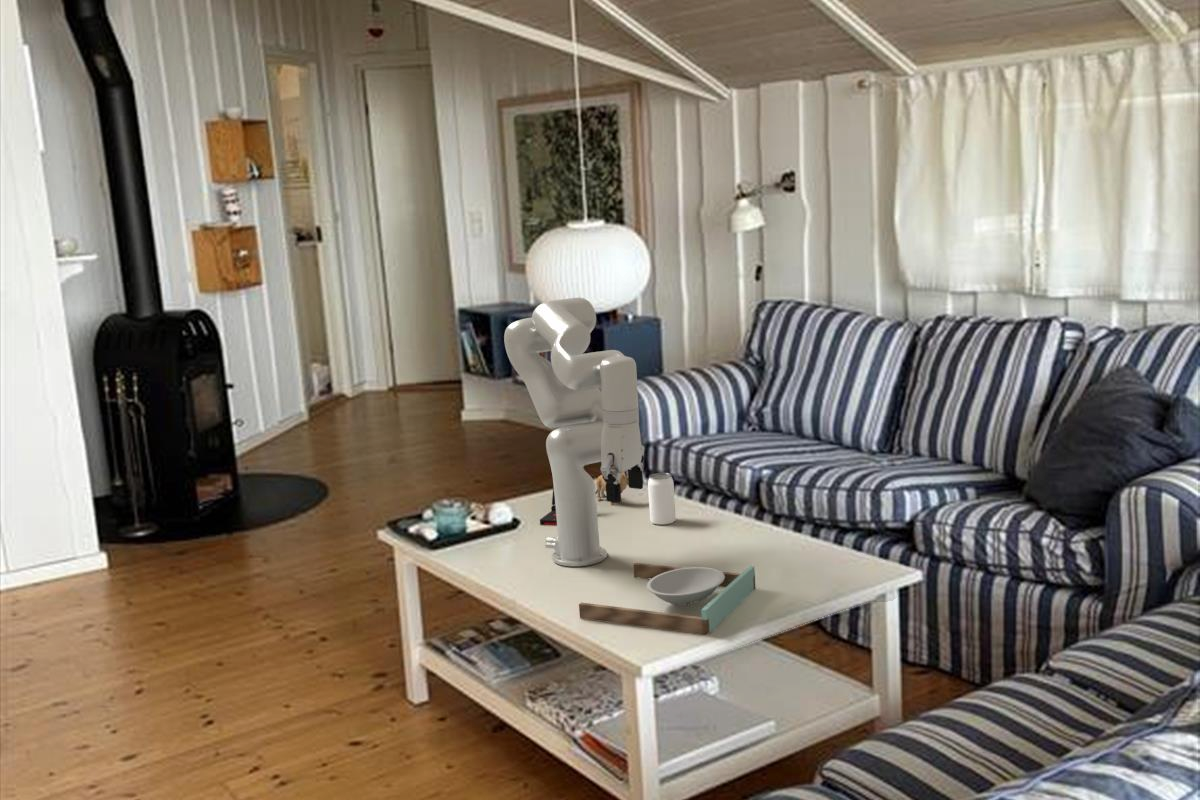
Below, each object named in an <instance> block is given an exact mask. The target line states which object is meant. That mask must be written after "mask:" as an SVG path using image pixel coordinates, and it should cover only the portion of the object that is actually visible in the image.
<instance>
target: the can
mask: <svg viewBox="0 0 1200 800" xmlns="http://www.w3.org/2000/svg"><path fill="white" fill-rule="evenodd" d="M648 477H649V478H648V481H647V489H648V490H647V492H648V507H649V520H650V522H651V524H652V523H653V525H655V524H656V525H655V526H667V524H668V525H671V524H670V523H672V524H674V523H675V522H676V520H677V519H676V518H677V517H676V514H677V513H676V501H675V500H676V499H675V498H676V497H675V487H674V486H675V485H674V480H673V477H672V474H671V473H668V472H657V473H651V474H650V475H649V476H648ZM674 521H675V522H674ZM673 522H674V523H673Z"/></svg>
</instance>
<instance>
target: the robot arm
mask: <svg viewBox="0 0 1200 800" xmlns="http://www.w3.org/2000/svg"><path fill="white" fill-rule="evenodd" d="M596 314H597V313H596V310H595V308H594V306H593V304H592V303H591V302H590V301H589V300H588V299H586V298H584V297H579V296H578V297H570V298H562V299H555V300H554V299H553V300H548V301H544V302H542V303H541V304H540V303H539V305H537V306H536V307H535V308H534V310H533V312H532V315H531V317H527V318H521V319H519V320H515V321H513V322H511V323H510V324H509V325H508V326H507V327H506V328H505V330H504V335H503V338H504V339H503V340H504V347H505V351H506V354H507V358H508V359H509V362H510V364H511V366H513V369H514V370H515V372H516V373H517V374H518V376H519V377H520V379H522V381H523V382H524V384H525V386H526V389H527V391H528V393H529V397H530V398H531V401H532V403H533V406H534V407H535V410H536V413H537V415H538V417H539V419H540V421H541V423H542V424H543V425H544V426H545V427H546V428H549V429H554V430H552V431H551V432H550V433H549V434H548V436H547V437H546V440H545V448H546V454H547V457H548V460H549V464H550V469H551V473H552V482H553V484H554V495H555V506H556V518H557V526H556V528H557V529H556V530H557V538H555V537H547V538H546V539H545V546H544V547H545V548H546V549H553V550H554V553H553V554H552V560H553V562H554V563H556V564H557V565H560V566H565V567H587V566H590V565H595V564H598V563H600V562H603V561H604V560H606V558H607V557H608V552H607V549H606V548H604V547H603V546H600V531H599V519H598V507H597V496H596V495H597V494H596V484H595V482H594V479H593V477H592V476H591V475H590V474H589V473H588V472H587V471H586V470H585V468H584V467H585V466H589V465H590V464H592V465H593V464H596V463H601V466H600V469H599V470H600V472H601V475H603V476H602V477H603V479H604V483H605V484H606V491H605V497H606V501H607V502H609V503H610V502H615V503H617V502H618V504H620V503H619V502H621V501H622V493H621V487H620V484H619V483H618V482H619V479H620V475H621V473H623V472H624V473H625V472H627V477H628V482H629V486H628V488H629V489H635V490H642V489H643V488H644V481H643V480H644V478H643V469H644V465H643V462H644V460H645V457H644V454H645V446H644V445H643V444H642V437H641V432H640V431H641V430H640V416H639V415H640V414H639V413H640V412H639V411H640V410H639V395H638V393H639V392H638V374H637V363H636V361H635V359H634V358H633V357H630V356H626V355H625V354H624V353H622V352H621V351H620V350H615V349H610V350H602V351H595V352H594V351H592V352H587V353H585V352H586V350H587V349H588V347H589V345H590V343H591V333H592V331H593V330H594V328H595V326H596V323H597V315H596ZM545 352H550V361H549V360H548V359H546V358H545V357H543V356H542V355H540V354H539V353H545ZM614 474H615V478H614V477H613V475H614ZM621 503H622V502H621Z"/></svg>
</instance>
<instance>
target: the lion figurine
mask: <svg viewBox="0 0 1200 800" xmlns="http://www.w3.org/2000/svg"><path fill="white" fill-rule="evenodd" d="M612 475H613V477H614V478H615V473H613V474H612ZM602 476H603V475H602V474H601V475H599V476H598V477H597V478H596V487H597V488H596V490H595V492H596V495H597V501H598V502H602V500H603V498H605V497H606V493H605V492H606V484H605V483H604V479H603V477H602ZM618 483H619V484H620V487H621V494H622V493H623V491H625V490H626V489H627V487H629V482H628V475H626V473H625V472H623V473H621V475H620V479H619V482H618ZM601 497H603V498H601ZM609 503H610V506H616V503H618V502H609ZM618 504H622V500H621V502H619V503H618Z"/></svg>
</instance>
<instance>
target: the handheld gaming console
mask: <svg viewBox="0 0 1200 800" xmlns="http://www.w3.org/2000/svg"><path fill="white" fill-rule="evenodd" d="M552 486H553V487H552V497H551V505H552V506H551V509H550V510H551V511H549V512H548V513H547V514H545V515H544V516H543V517H541V518H540V519H539V525H540V526H556V527H557V518H556V506H555V495H554V484H553V485H552ZM541 524H542V525H541ZM543 524H544V525H543Z"/></svg>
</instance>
